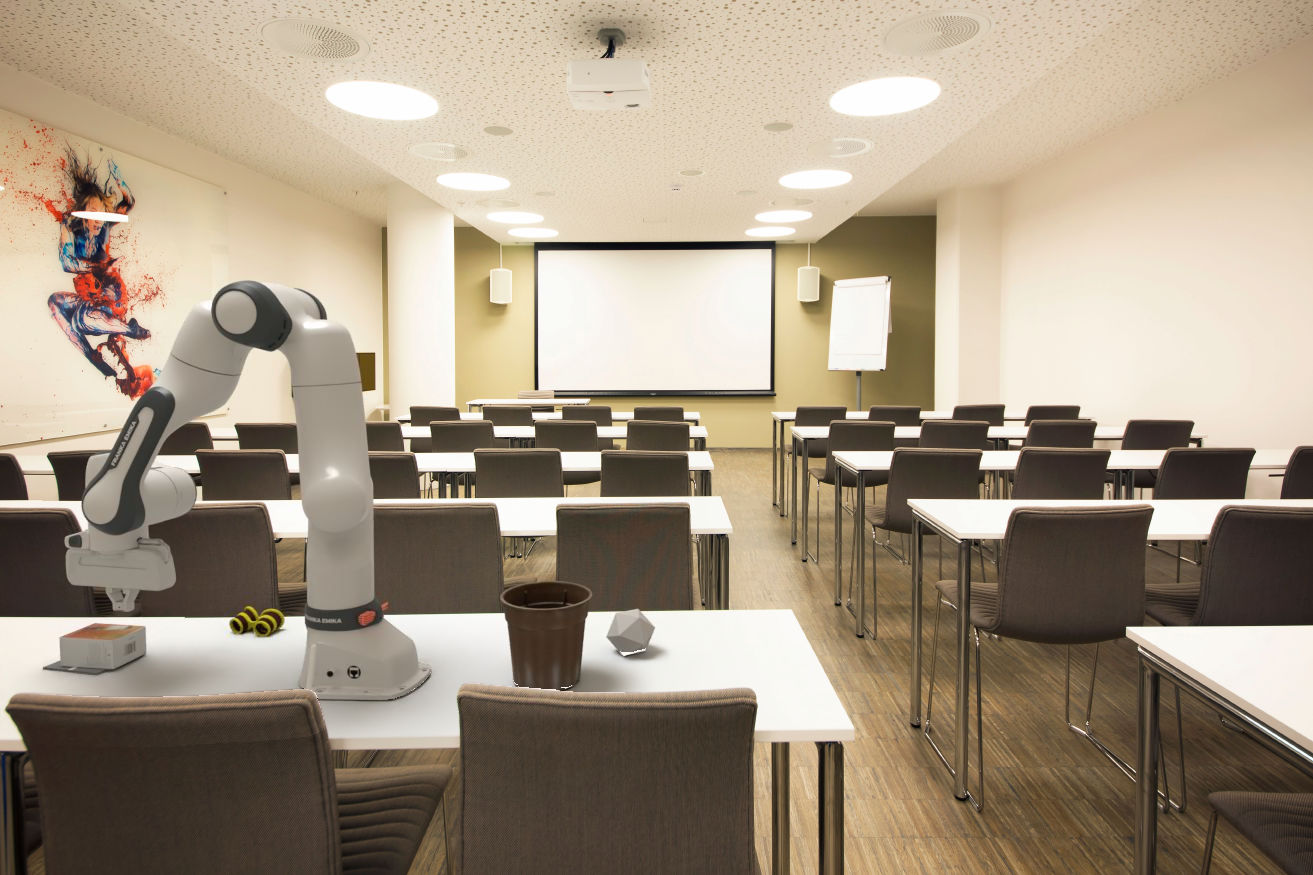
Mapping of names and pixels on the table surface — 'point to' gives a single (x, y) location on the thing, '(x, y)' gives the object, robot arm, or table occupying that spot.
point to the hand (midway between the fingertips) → (123, 610)
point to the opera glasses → (257, 621)
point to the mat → (74, 669)
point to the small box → (102, 646)
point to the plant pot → (546, 632)
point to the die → (630, 631)
